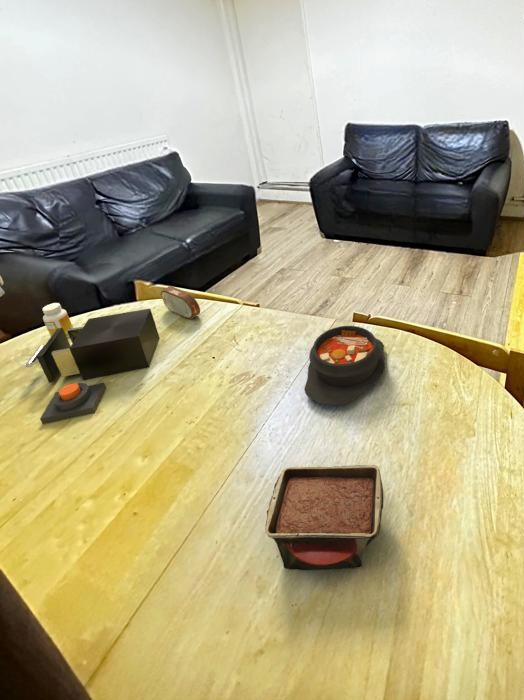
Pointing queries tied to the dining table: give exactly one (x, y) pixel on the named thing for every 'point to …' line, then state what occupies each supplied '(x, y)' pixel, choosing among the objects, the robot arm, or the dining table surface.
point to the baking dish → (325, 515)
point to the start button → (69, 392)
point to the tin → (180, 302)
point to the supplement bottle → (56, 318)
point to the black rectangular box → (115, 344)
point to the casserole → (343, 365)
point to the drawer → (56, 355)
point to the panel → (74, 404)
